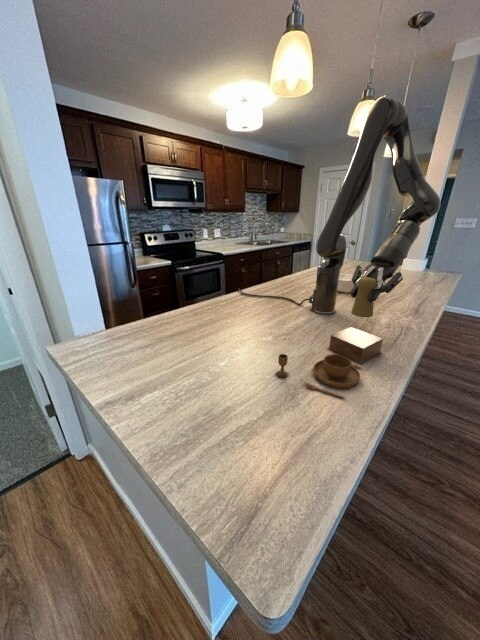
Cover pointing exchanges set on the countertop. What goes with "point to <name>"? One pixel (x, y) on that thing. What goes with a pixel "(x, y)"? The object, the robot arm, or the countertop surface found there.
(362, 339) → the walnut block
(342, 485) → the countertop surface
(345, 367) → the place setting
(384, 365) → the countertop surface
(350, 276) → the paper bowls
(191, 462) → the countertop surface
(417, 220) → the robot arm
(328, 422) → the countertop surface
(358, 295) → the cork
